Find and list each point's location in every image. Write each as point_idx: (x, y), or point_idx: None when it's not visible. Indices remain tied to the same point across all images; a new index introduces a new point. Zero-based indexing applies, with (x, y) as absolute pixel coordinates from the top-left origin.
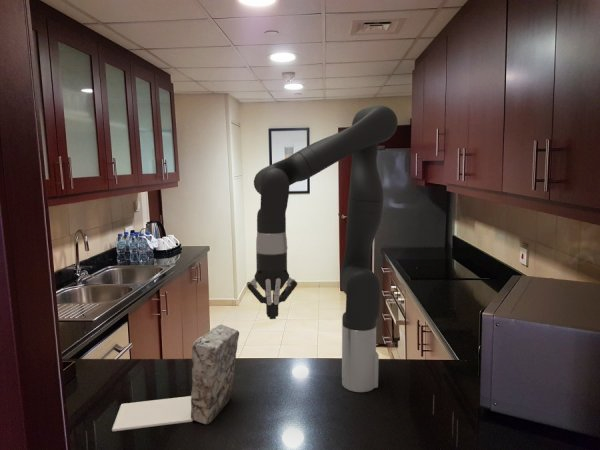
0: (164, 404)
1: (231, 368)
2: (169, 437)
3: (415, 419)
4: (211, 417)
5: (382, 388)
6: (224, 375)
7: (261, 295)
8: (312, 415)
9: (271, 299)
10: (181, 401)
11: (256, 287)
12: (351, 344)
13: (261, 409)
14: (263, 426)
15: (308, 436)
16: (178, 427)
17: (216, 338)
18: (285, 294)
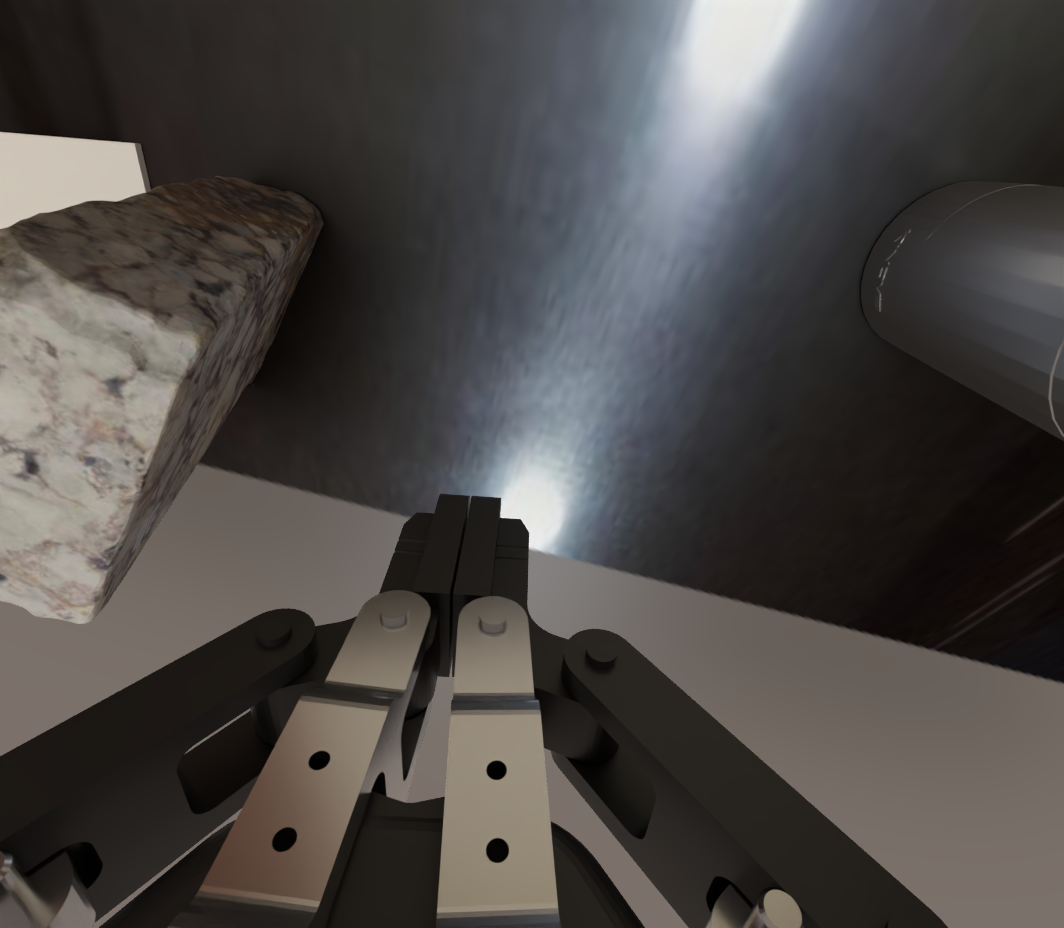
0: (12, 188)
1: (263, 301)
2: None
3: (934, 544)
4: (253, 368)
5: None
6: (233, 373)
7: (262, 696)
8: (630, 434)
9: (419, 747)
10: (87, 185)
11: (83, 918)
12: (1034, 412)
13: (454, 342)
14: (446, 445)
15: (575, 527)
16: None
17: (34, 539)
18: (621, 817)
